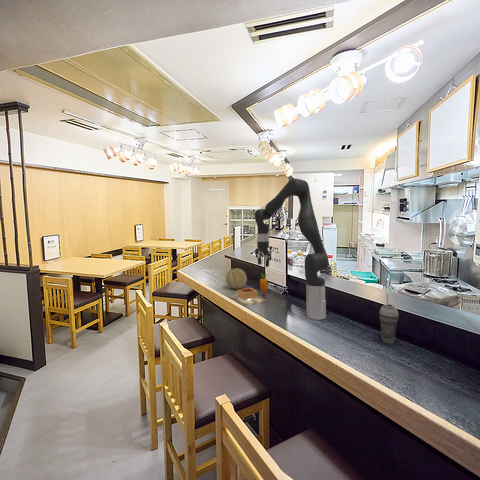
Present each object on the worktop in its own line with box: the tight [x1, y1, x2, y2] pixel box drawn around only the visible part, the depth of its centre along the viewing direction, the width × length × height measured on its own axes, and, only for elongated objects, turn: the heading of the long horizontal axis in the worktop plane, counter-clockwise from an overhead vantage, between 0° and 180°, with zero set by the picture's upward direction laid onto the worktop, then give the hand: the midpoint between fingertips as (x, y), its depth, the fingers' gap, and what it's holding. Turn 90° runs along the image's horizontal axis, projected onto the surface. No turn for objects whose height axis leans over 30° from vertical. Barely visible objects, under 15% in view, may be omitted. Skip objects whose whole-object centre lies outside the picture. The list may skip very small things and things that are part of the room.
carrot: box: [259, 273, 268, 296], centre depth 181 cm, size 5×5×15 cm
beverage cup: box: [378, 293, 399, 344], centre depth 116 cm, size 7×7×20 cm
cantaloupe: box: [225, 267, 248, 290], centre depth 199 cm, size 15×15×15 cm
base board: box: [229, 293, 267, 307], centre depth 175 cm, size 14×20×1 cm
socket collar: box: [236, 287, 258, 301], centre depth 175 cm, size 13×13×5 cm
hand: (263, 265), depth 179 cm, fingers open, 8 cm apart
